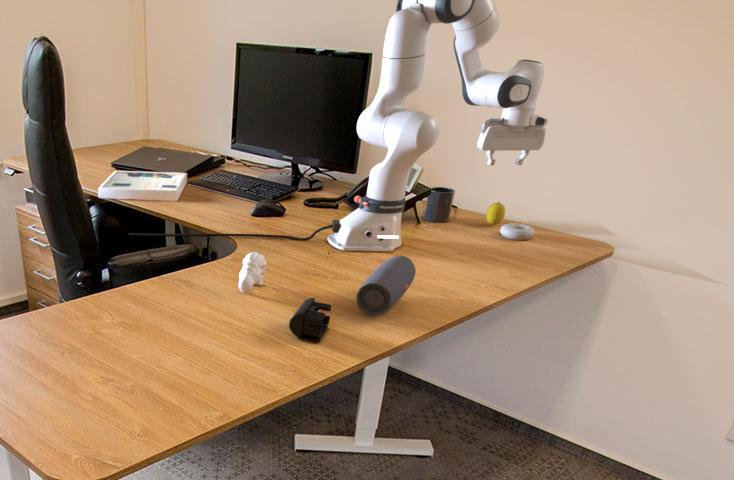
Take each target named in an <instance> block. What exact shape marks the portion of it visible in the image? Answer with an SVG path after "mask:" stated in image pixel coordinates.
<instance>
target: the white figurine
mask: <svg viewBox="0 0 734 480" xmlns="http://www.w3.org/2000/svg"><path fill="white" fill-rule="evenodd" d="M267 264H268V263H267V261H266V260H265V256H264V255H263V254H261V253H259V252H257V251H251V252H250V253H248V254H246V256H245V257H244V258H243V260H242V265H243V266H242V268H241V270H240V271H239V274H238V278H239V280H238V286H237V288H238V290H239V291H240V292H241V293H243V294H244V295H245V294H248V293H253V291H254V290H255V288H256V287H253V286H254V285H255V284H257V285H258V286H260V287H261V286H264V282H263V281H264V278H265V277H264V273H265V272H266V269H267Z"/></svg>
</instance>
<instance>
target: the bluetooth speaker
mask: <svg viewBox="0 0 734 480" xmlns="http://www.w3.org/2000/svg"><path fill="white" fill-rule="evenodd" d="M415 277H416V265H415V264H414V262H413V261H412V259H410V258H409V257H407V256H404V255H395V256H394V255H393V256H392V257H390V258H388V259H386V260H385V261H384V262H382V264H381V263H380V265H379V266H378V267H377V268H376V269H375V270H373V271H372V273H371V274H369V276H368V277H367V278H366V280H365V281H364V282H363V283H362V284H361V285H360V287H359V290H358V291H357V294H356V298H355V300H356V305H357V307H358V309H359V310H360V311H361V312H362V313H363V314H366V315H368V316H372V317H379V316H381V315H384V314H385V313H387V312H388V311H390V310H391V309H392V308H393V307H394V306H395V305H396V303H398V302H399V300H401V298H402V297H403V296H404V295H405V293H406V292H407V290H408V289H409V288H410V286H411V284H412V283H413V281H414V279H415Z"/></svg>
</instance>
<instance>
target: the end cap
mask: <svg viewBox="0 0 734 480" xmlns="http://www.w3.org/2000/svg"><path fill="white" fill-rule="evenodd" d="M320 311H325V312H320ZM326 312H332V304H329V303H325V302H319V301H316V297H309V298H306V299H304V300H303V302H302V303H301V304H300V306H299V307H298V308H297V309H296V311H294V313H293V315H292V316H291V317H290V319H289V322H288V328H289V330H290V332H291V333H292V334H293V335H294V336H295V337H296V338H297V339H298V340H300V341H303V342H309V343H315V344H319V343H320V342H321V341H322V339H323V338H324V336H325V334H326V332H327V331H328V329H329V324H330V319H331V316H330V315H326Z"/></svg>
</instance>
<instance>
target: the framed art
mask: <svg viewBox="0 0 734 480" xmlns="http://www.w3.org/2000/svg"><path fill="white" fill-rule="evenodd" d="M187 182H188V173H187V172H171V171H170V172H167V171H142V170H141V171H139V170H132V171H131V170H114V171H113V172H112V173H111V174H110V175H109V176H108V177H107V178H106V179H105V180H104V181H103V183H102V184H100V186H99V187H98V188H97V193H98V194H97V195H98V199H111V200H112V199H113V200H139V201H165V202H178V200H179V198H180V197H181V195H182V193H183V191H184V189H185V187H186V185H187Z"/></svg>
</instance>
